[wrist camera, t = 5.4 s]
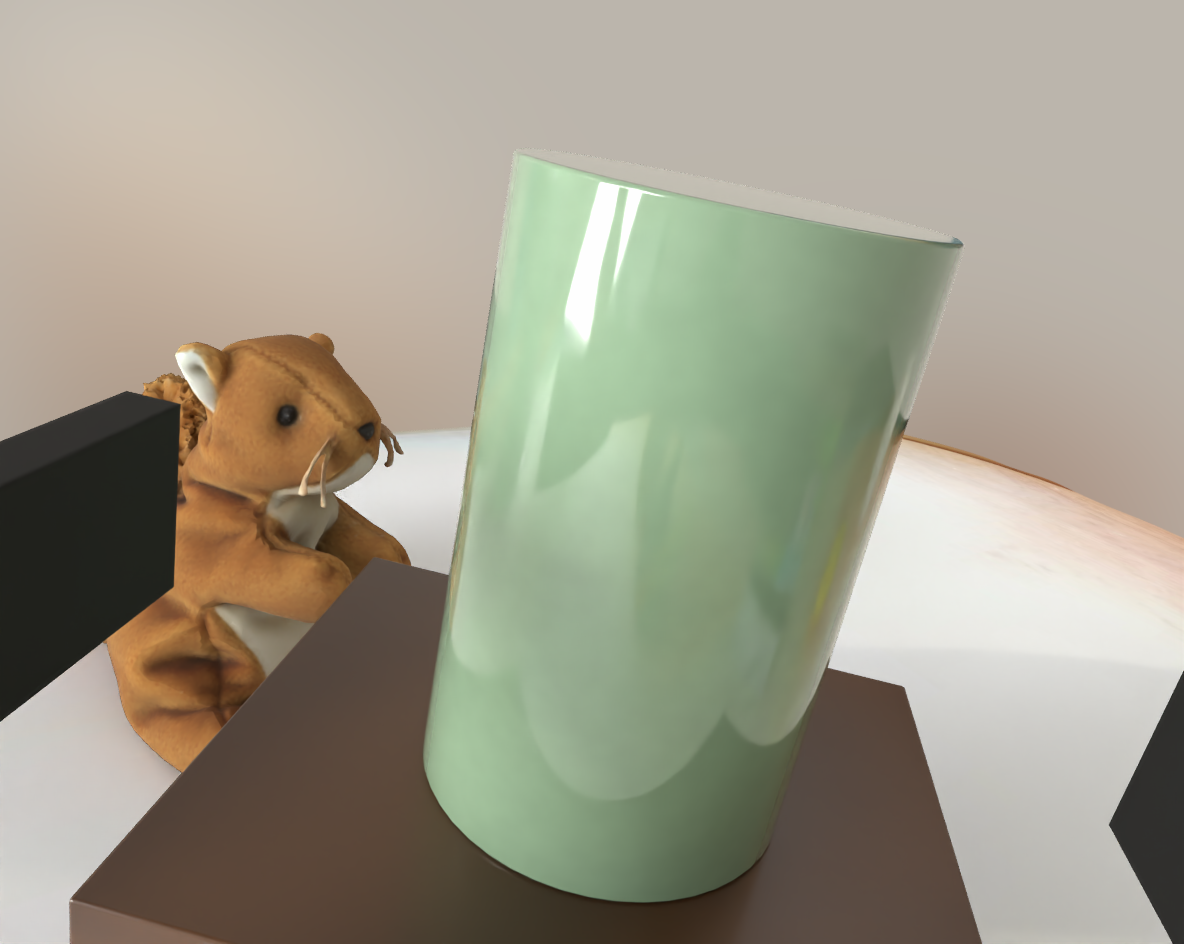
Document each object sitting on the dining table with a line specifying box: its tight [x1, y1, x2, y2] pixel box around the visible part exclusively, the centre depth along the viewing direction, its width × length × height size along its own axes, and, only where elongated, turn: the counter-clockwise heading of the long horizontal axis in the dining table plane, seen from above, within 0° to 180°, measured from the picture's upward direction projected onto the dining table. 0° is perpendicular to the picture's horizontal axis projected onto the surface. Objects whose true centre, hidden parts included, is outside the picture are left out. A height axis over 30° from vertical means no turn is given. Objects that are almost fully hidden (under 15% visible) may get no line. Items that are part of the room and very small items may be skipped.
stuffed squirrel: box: [103, 333, 411, 772], centre depth 33 cm, size 10×14×13 cm
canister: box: [423, 148, 965, 903], centre depth 17 cm, size 7×7×11 cm
